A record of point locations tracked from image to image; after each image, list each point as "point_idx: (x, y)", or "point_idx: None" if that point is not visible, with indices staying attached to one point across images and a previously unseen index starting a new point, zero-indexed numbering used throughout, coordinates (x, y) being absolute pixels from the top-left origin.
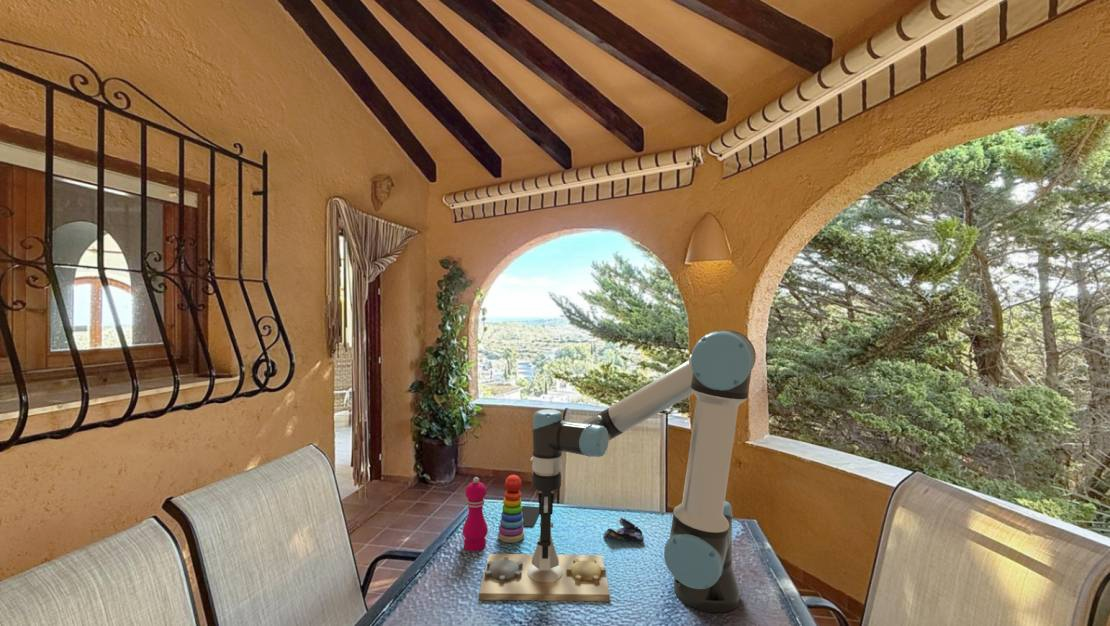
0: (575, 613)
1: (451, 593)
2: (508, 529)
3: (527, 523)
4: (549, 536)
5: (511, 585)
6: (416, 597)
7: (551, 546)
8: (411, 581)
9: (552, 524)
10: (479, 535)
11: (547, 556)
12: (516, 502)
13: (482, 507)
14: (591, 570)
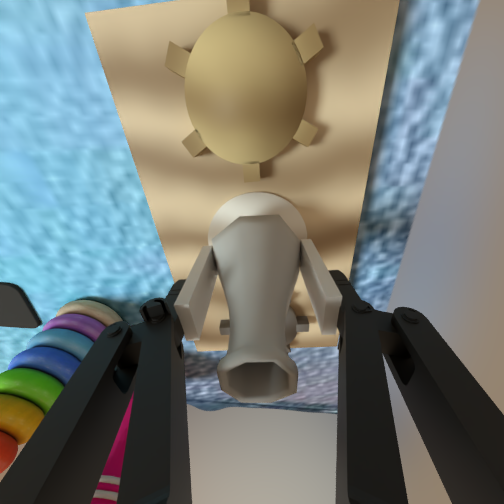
0: (424, 139)
1: (311, 367)
2: None
3: (7, 299)
4: (455, 360)
5: None
6: (319, 395)
7: (279, 271)
8: (280, 405)
9: (150, 309)
10: None
11: (345, 276)
12: (10, 420)
13: (109, 464)
14: (258, 69)
